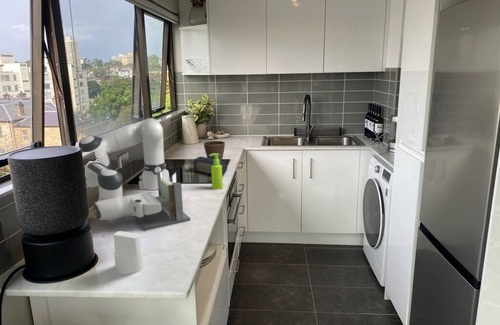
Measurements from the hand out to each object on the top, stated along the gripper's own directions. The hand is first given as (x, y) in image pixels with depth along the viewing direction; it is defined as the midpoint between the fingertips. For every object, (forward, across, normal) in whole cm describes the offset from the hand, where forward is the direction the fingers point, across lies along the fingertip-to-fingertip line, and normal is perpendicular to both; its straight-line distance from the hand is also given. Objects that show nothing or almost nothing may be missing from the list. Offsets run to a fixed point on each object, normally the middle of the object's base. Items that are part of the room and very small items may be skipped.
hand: (165, 199), depth 164 cm
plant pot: (+59, -77, -8) cm, 97 cm away
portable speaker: (+47, -58, -8) cm, 75 cm away
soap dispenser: (+37, -26, -8) cm, 45 cm away
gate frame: (-3, -1, -8) cm, 9 cm away
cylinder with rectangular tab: (-24, +39, -8) cm, 47 cm away
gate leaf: (+1, -1, -6) cm, 6 cm away
